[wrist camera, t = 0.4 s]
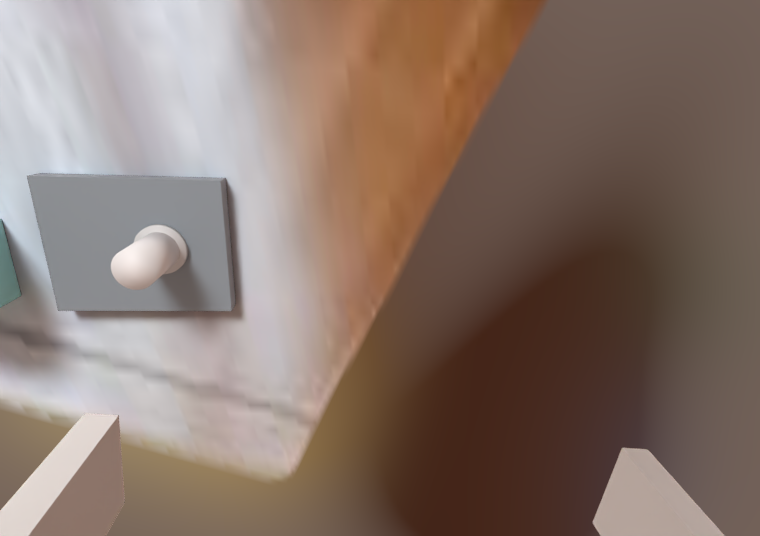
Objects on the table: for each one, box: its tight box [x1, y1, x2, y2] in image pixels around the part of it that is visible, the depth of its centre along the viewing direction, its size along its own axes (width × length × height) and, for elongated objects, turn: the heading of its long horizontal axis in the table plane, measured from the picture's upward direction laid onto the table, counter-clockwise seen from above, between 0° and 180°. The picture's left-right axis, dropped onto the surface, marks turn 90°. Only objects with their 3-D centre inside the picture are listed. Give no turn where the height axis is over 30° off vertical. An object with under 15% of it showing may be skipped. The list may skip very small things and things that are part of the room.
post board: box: [27, 173, 236, 311], centre depth 33 cm, size 11×14×6 cm
